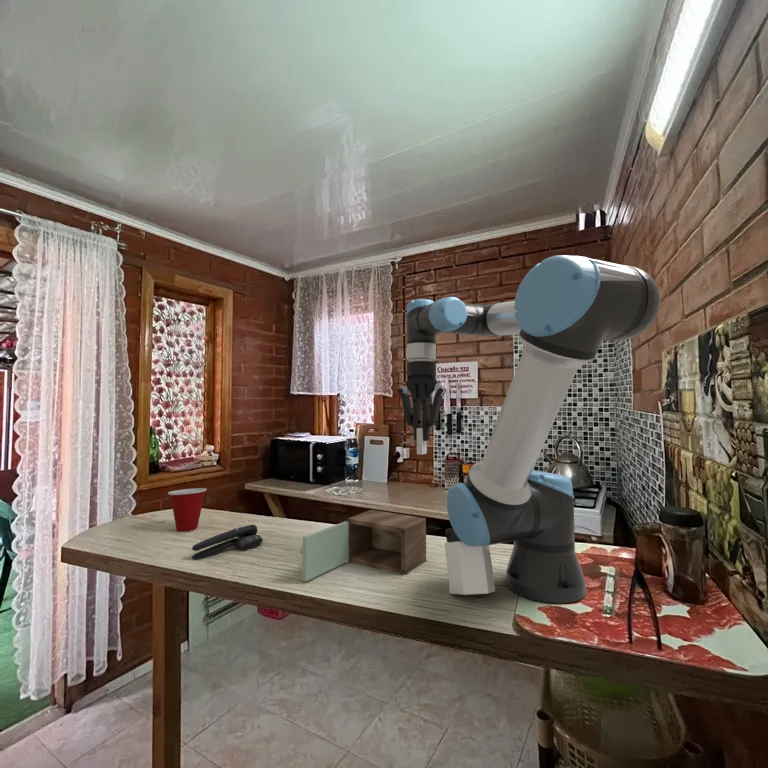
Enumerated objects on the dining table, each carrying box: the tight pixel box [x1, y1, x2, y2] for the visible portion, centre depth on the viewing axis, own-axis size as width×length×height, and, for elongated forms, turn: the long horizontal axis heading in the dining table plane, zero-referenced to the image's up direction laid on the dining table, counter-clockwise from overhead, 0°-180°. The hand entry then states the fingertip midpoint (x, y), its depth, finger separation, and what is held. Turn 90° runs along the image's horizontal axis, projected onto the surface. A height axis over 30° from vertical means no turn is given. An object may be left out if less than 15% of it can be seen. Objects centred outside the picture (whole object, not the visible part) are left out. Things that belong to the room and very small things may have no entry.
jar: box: [444, 528, 496, 596], centre depth 84 cm, size 9×8×12 cm
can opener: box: [191, 524, 264, 561], centre depth 107 cm, size 18×7×6 cm, turn 134°
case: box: [346, 509, 427, 576], centre depth 100 cm, size 16×10×10 cm, turn 57°
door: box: [299, 520, 350, 582], centre depth 94 cm, size 14×3×9 cm, turn 146°
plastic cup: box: [167, 487, 208, 532], centre depth 127 cm, size 11×11×12 cm
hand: (421, 453), depth 106 cm, fingers closed
